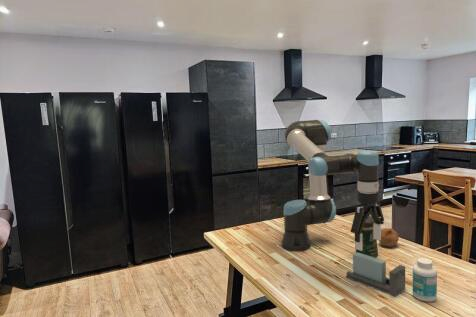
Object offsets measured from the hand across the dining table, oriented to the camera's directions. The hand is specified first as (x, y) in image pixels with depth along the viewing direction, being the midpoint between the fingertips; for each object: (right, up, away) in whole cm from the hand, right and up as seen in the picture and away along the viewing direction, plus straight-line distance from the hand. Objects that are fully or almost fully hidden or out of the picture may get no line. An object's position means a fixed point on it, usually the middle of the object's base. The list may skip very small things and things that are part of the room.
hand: (368, 244), depth 124 cm
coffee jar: (+9, -12, +24) cm, 29 cm away
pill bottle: (+15, -16, -12) cm, 25 cm away
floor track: (+2, -15, 0) cm, 15 cm away
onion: (+24, -10, +34) cm, 43 cm away
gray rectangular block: (+1, -14, +1) cm, 14 cm away
